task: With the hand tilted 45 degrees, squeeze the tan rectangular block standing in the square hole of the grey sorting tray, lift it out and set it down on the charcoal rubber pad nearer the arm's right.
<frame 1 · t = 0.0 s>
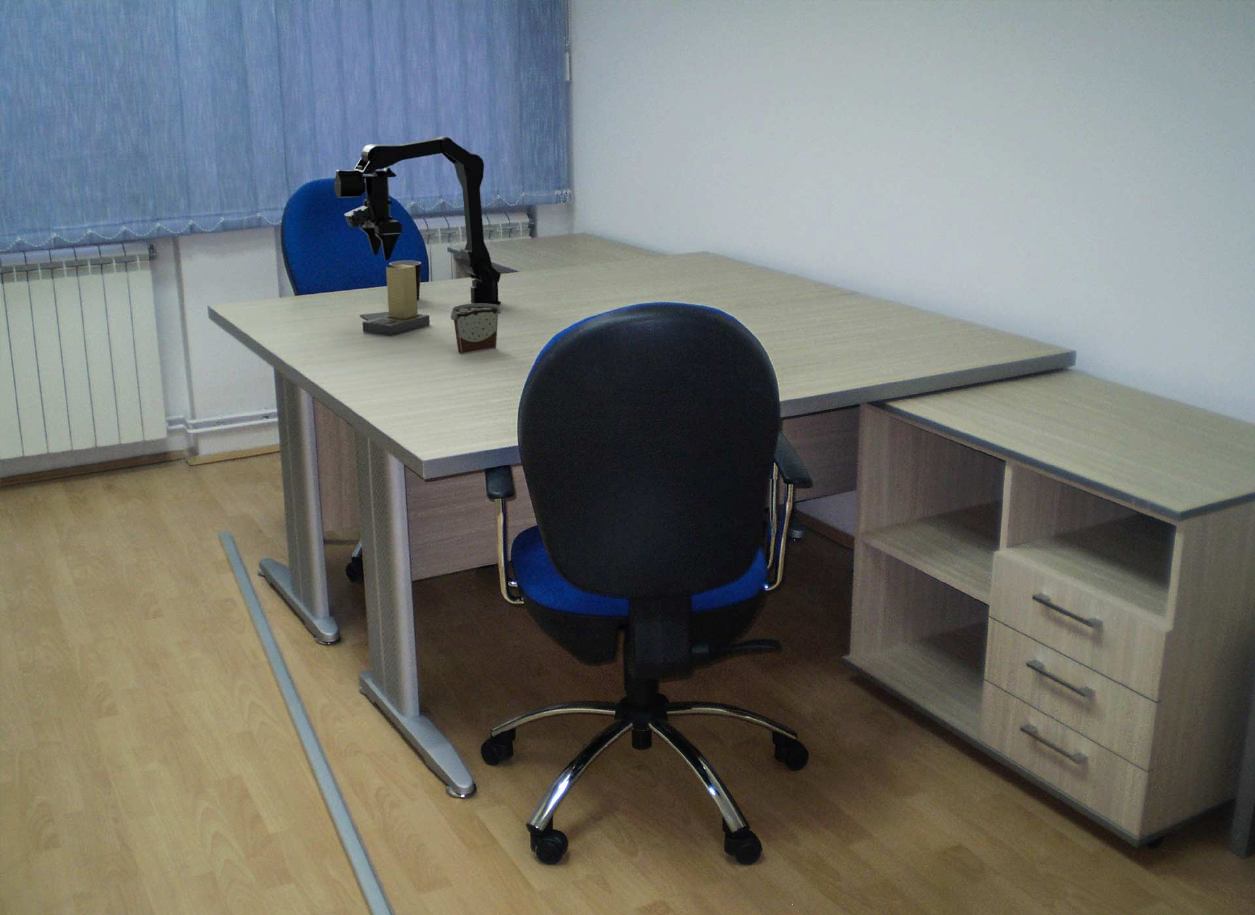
hand: (381, 257, 326), 15 cm above the table, tool pointing down, fingers open, 9 cm apart
grey sorting tray: (404, 326, 316), on the table
food container: (472, 349, 294), on the table
coffee mug: (409, 299, 350), on the table
tan rectangular block: (402, 296, 314), in the grey sorting tray
rubber pad: (384, 317, 326), on the table
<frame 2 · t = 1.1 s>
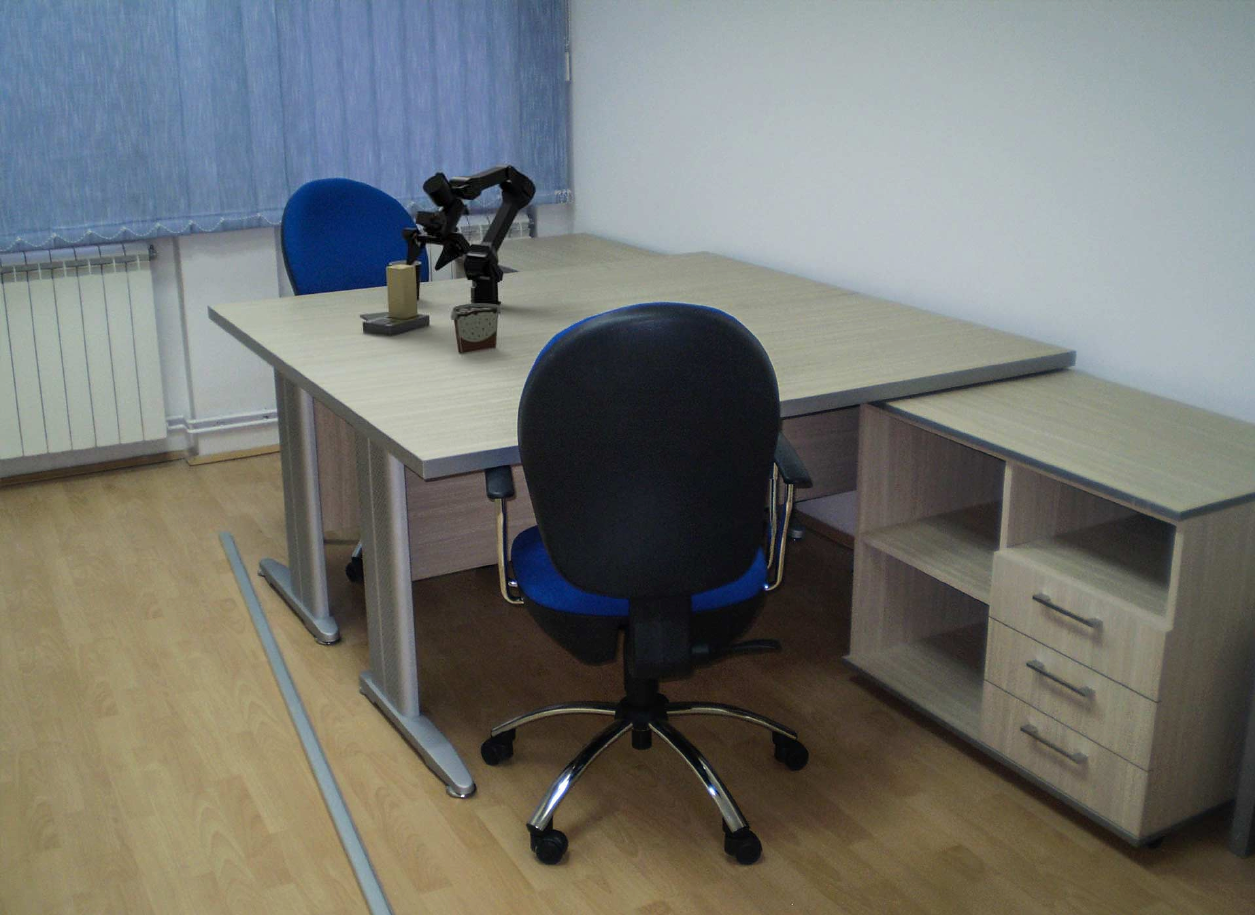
hand: (421, 268, 319), 13 cm above the table, tool tilted 45°, fingers open, 9 cm apart
nothing on the table moved.
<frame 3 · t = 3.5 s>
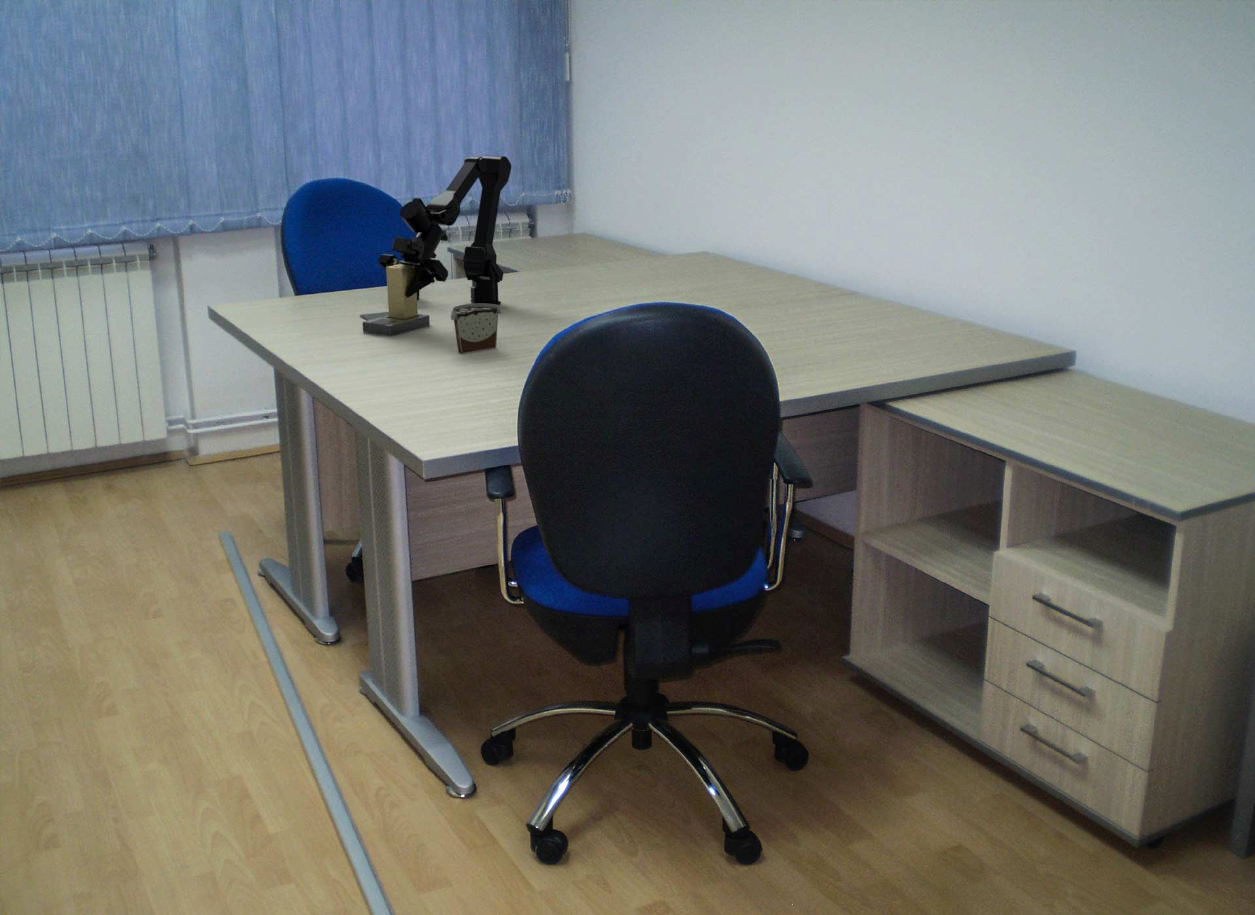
hand: (398, 295, 313), 8 cm above the table, tool tilted 45°, fingers closed on tan rectangular block, 5 cm apart
tan rectangular block: (402, 296, 314), in the grey sorting tray, touching gripper
everything else where it was.
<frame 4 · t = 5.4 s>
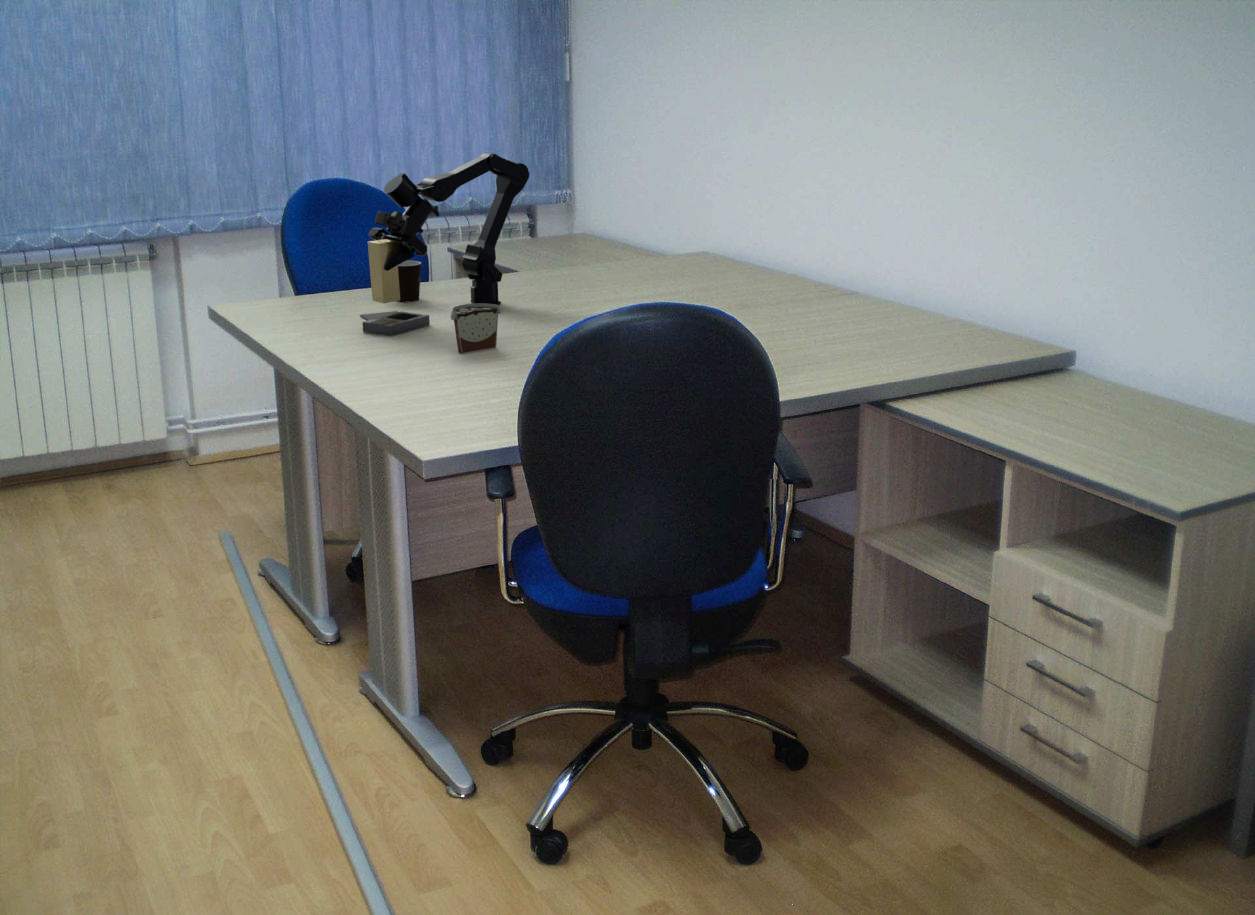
hand: (379, 268, 319), 13 cm above the table, tool tilted 45°, fingers closed on tan rectangular block, 5 cm apart
tan rectangular block: (384, 271, 320), point 12 cm above the table, touching gripper
everything else where it was.
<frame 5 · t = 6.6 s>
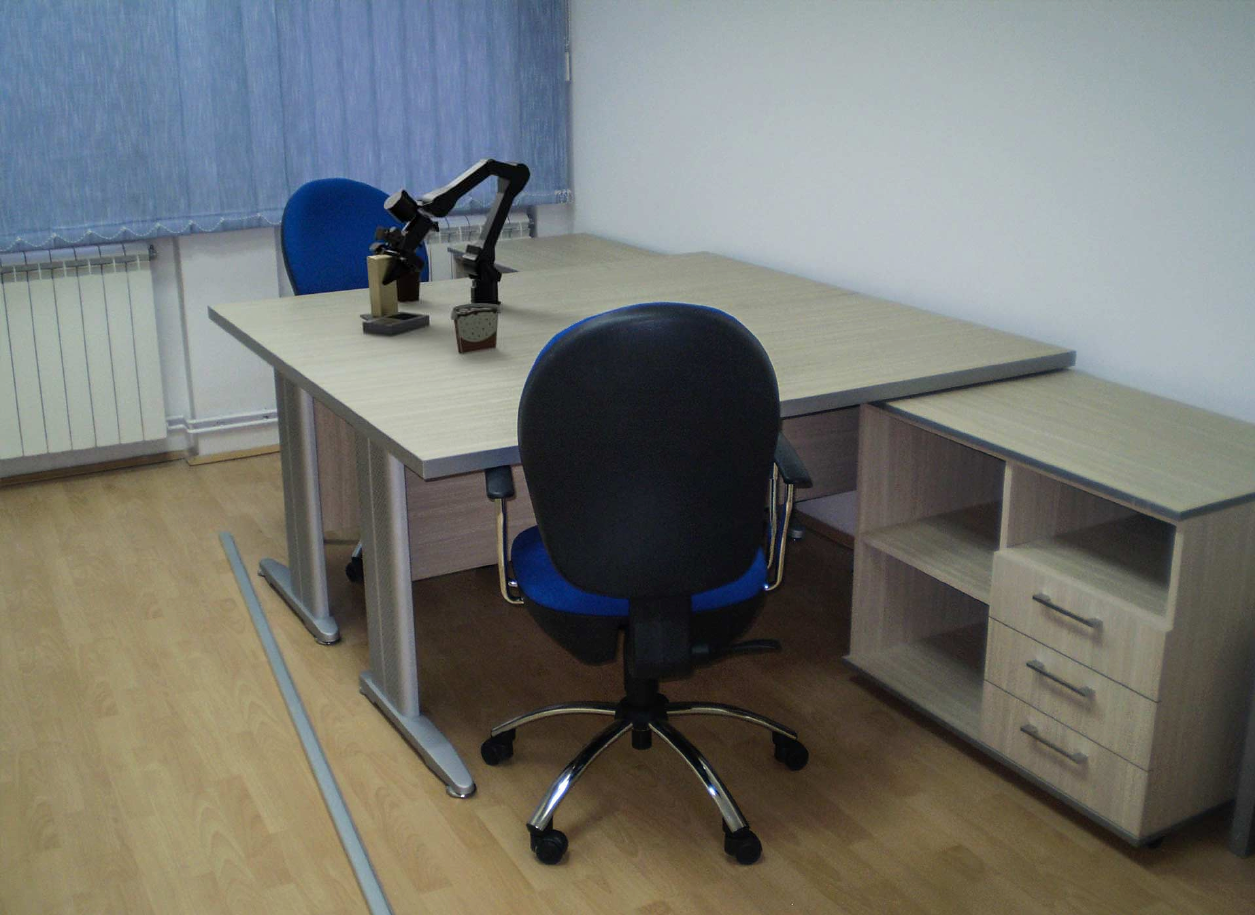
hand: (378, 283, 322), 9 cm above the table, tool tilted 45°, fingers closed on tan rectangular block, 5 cm apart
tan rectangular block: (382, 286, 323), point 8 cm above the table, touching gripper
everything else where it was.
when the fingers open (9 cm above the table, at t = 7.1 s): tan rectangular block stays where it is, resting on rubber pad.
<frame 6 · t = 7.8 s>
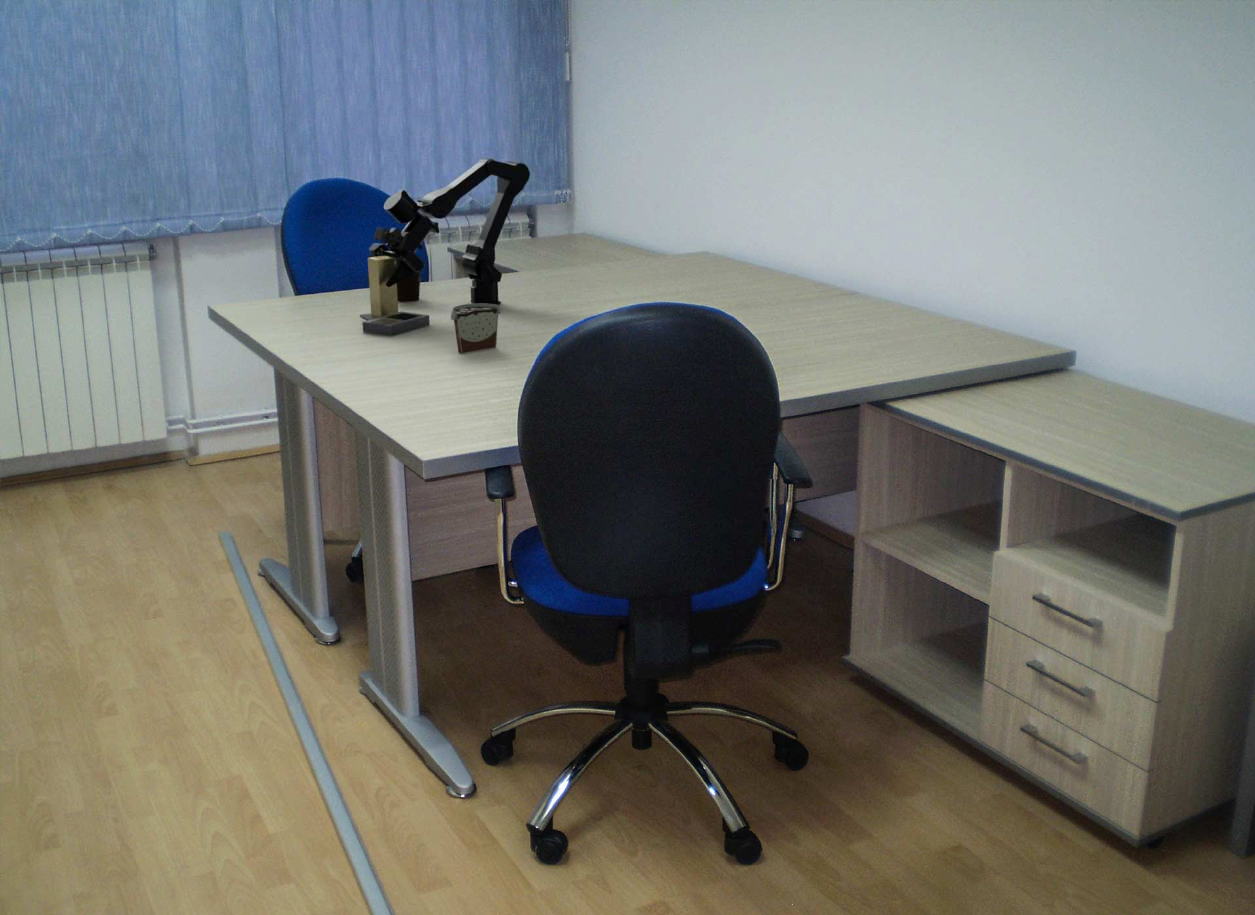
hand: (377, 283, 322), 9 cm above the table, tool tilted 45°, fingers open, 9 cm apart
tan rectangular block: (383, 287, 323), on the rubber pad
everything else where it was.
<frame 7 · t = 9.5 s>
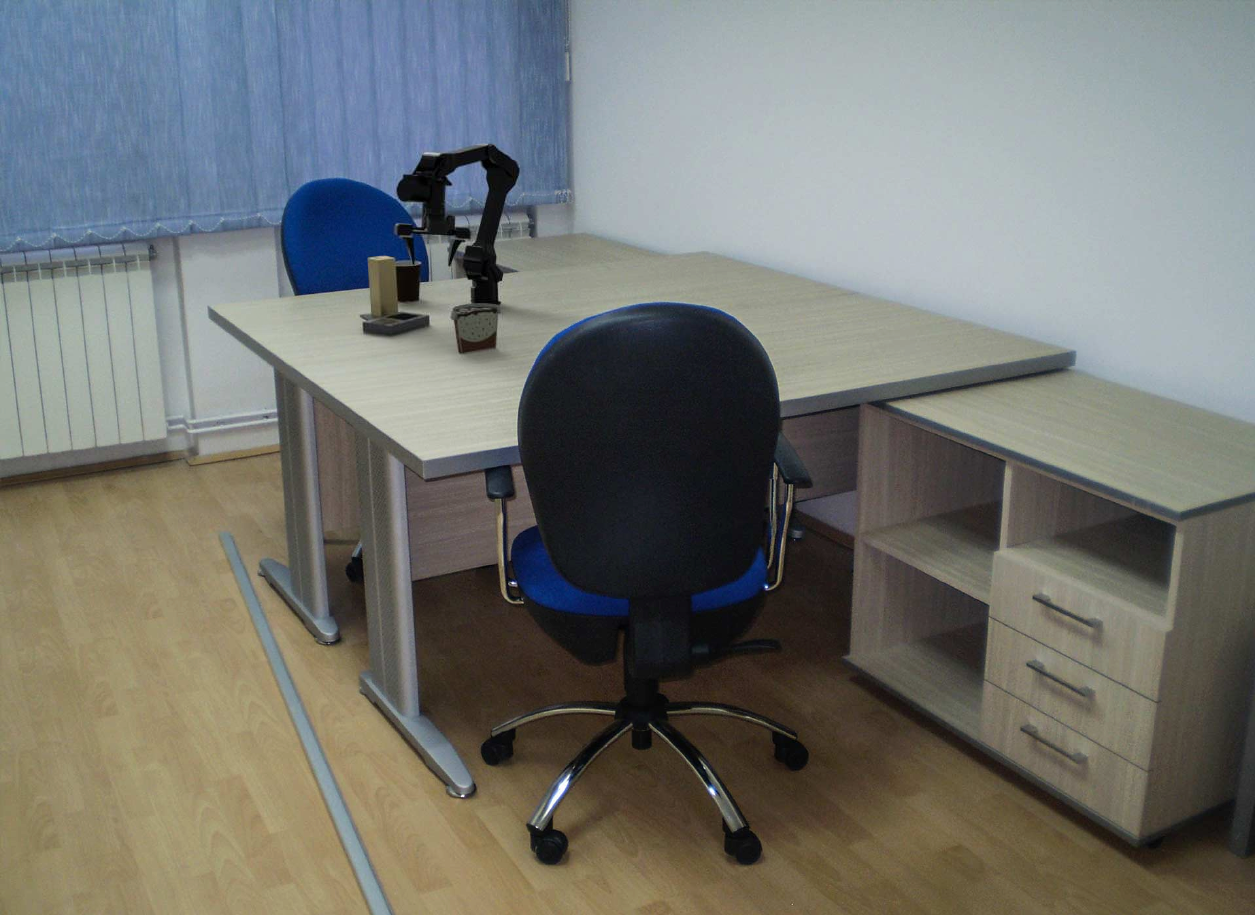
hand: (431, 265, 325), 13 cm above the table, tool pointing down, fingers open, 9 cm apart
nothing on the table moved.
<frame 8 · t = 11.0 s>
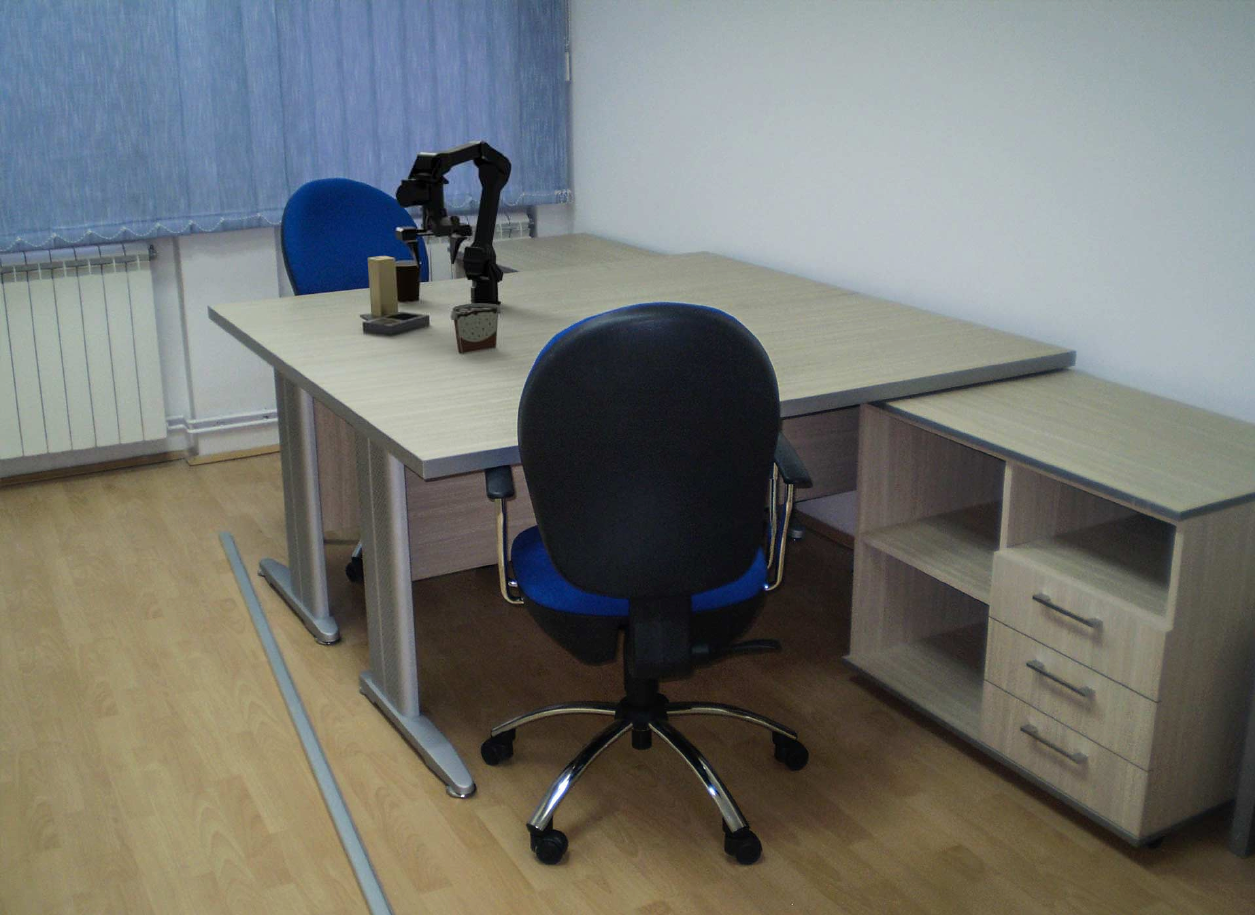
hand: (435, 265, 324), 13 cm above the table, tool pointing down, fingers open, 9 cm apart
nothing on the table moved.
at the end: tan rectangular block inside the target area (0.1 cm from its centre), resting on rubber pad; tan rectangular block tilted 0°; the gripper is holding nothing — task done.
